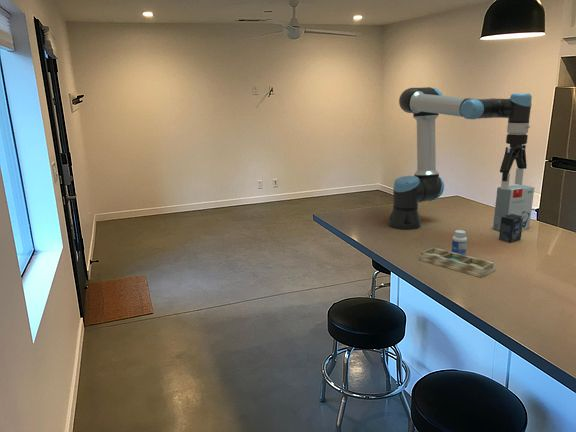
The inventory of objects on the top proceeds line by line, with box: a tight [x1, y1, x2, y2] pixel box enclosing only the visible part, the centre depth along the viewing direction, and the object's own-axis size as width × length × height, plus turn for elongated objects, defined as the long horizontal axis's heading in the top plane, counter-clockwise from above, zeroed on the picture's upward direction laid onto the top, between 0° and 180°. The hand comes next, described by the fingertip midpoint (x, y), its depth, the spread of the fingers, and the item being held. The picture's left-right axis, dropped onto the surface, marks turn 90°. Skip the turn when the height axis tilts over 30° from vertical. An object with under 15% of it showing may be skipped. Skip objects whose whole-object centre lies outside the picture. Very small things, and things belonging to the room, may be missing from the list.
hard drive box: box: [492, 184, 535, 232], centre depth 216 cm, size 16×8×20 cm, turn 114°
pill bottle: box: [451, 229, 468, 256], centre depth 184 cm, size 6×5×10 cm
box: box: [498, 214, 523, 243], centre depth 202 cm, size 8×6×11 cm
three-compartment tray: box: [418, 246, 496, 278], centre depth 174 cm, size 25×10×3 cm, turn 41°
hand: (511, 186), depth 190 cm, fingers open, 13 cm apart
